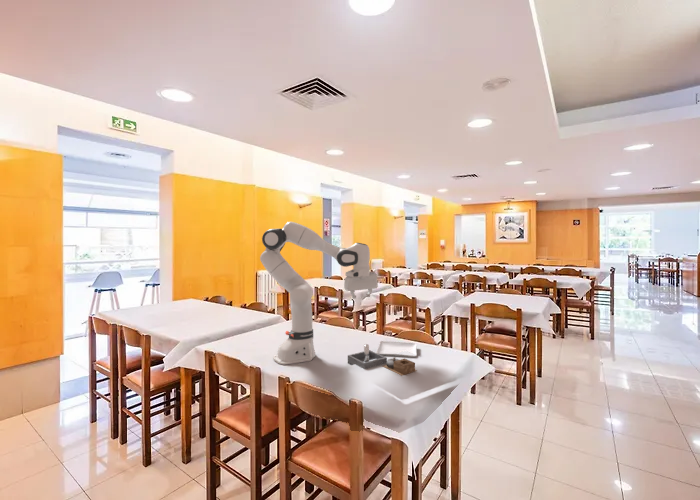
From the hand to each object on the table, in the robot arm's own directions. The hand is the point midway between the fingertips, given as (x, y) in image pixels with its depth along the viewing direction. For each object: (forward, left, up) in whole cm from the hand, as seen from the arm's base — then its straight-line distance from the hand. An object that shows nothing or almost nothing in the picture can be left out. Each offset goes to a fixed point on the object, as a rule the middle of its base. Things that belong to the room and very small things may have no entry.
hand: (361, 297), depth 184 cm
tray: (-7, -14, -31) cm, 35 cm away
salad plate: (+17, -10, -31) cm, 37 cm away
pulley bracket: (0, -30, -31) cm, 43 cm away
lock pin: (-7, -14, -30) cm, 34 cm away
